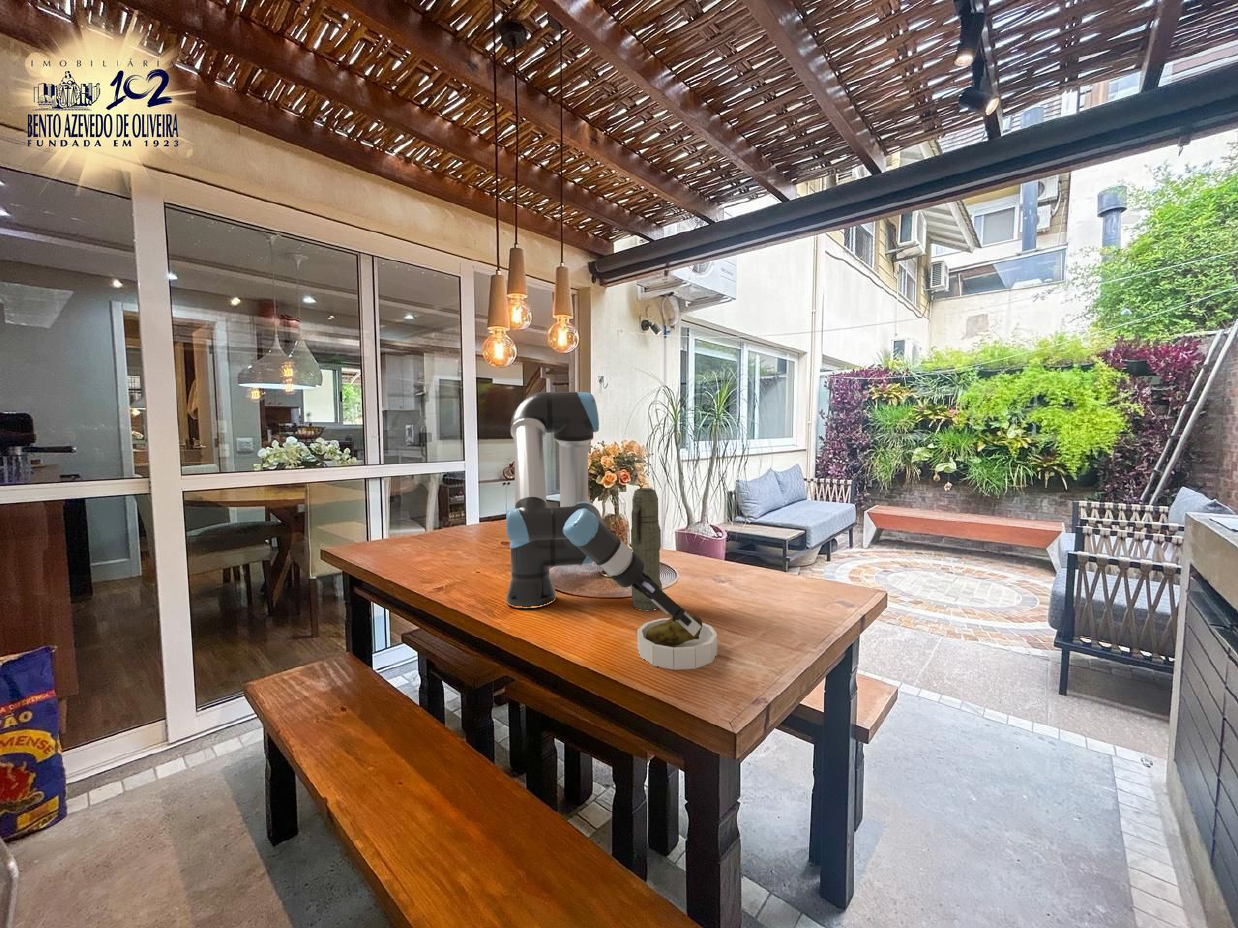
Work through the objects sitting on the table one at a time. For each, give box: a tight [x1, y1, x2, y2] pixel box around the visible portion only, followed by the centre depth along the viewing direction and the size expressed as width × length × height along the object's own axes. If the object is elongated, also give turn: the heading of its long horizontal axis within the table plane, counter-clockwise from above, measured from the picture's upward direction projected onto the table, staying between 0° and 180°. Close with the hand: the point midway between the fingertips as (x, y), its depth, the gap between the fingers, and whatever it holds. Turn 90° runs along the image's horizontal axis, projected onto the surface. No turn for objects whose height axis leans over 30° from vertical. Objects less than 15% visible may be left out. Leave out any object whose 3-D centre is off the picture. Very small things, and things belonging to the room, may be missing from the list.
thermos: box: [630, 487, 663, 611], centre depth 144 cm, size 9×12×35 cm
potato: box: [646, 611, 703, 646], centre depth 114 cm, size 8×13×8 cm, turn 70°
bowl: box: [636, 617, 718, 671], centre depth 114 cm, size 18×18×4 cm
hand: (683, 620), depth 114 cm, fingers open, 13 cm apart
